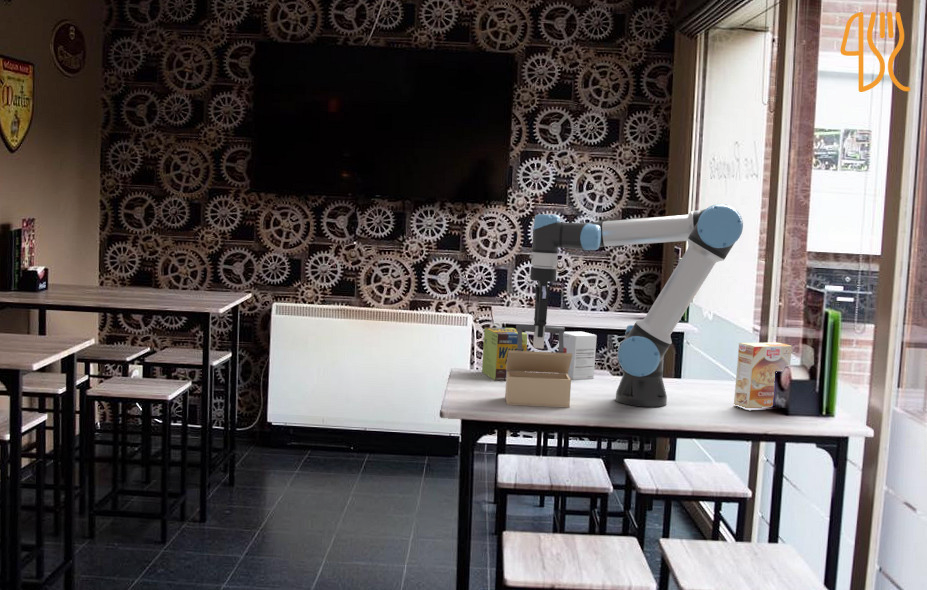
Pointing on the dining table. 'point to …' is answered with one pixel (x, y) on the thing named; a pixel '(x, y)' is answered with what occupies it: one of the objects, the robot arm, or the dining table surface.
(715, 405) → the dining table surface
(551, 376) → the carton
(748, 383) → the coffeecake box
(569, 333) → the supplement box
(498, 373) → the protein box
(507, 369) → the flap
